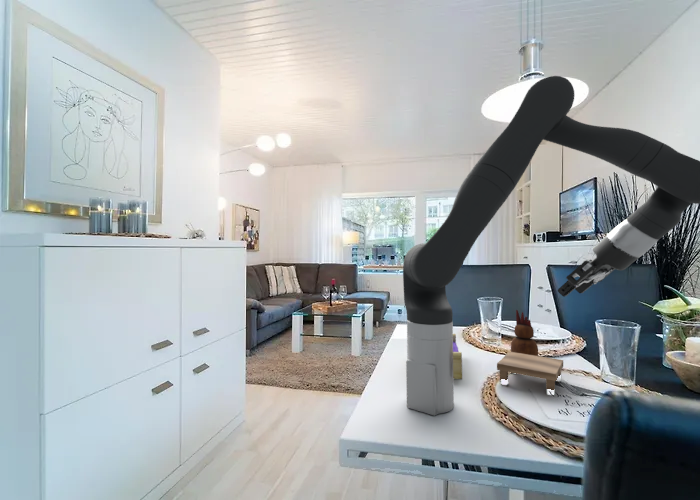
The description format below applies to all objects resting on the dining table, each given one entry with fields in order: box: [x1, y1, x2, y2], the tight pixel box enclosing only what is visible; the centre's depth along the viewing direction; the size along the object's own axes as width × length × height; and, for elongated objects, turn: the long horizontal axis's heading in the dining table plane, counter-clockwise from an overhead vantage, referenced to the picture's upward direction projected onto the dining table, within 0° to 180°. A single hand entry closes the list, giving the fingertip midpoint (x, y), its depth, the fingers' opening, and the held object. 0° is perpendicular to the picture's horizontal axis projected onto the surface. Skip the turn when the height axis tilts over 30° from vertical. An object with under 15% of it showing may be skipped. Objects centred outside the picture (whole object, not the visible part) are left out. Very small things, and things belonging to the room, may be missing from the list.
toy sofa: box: [453, 333, 463, 380], centre depth 95 cm, size 21×9×10 cm, turn 167°
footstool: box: [496, 351, 564, 390], centre depth 82 cm, size 12×12×5 cm
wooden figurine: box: [510, 309, 539, 356], centre depth 94 cm, size 7×6×15 cm
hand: (569, 292), depth 85 cm, fingers open, 8 cm apart
